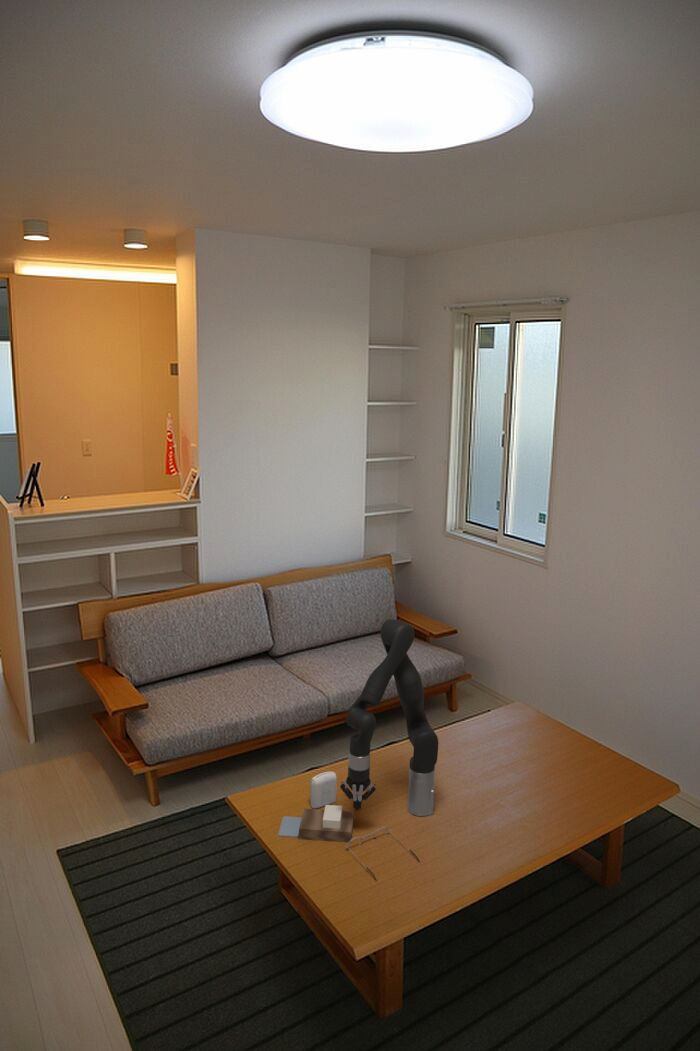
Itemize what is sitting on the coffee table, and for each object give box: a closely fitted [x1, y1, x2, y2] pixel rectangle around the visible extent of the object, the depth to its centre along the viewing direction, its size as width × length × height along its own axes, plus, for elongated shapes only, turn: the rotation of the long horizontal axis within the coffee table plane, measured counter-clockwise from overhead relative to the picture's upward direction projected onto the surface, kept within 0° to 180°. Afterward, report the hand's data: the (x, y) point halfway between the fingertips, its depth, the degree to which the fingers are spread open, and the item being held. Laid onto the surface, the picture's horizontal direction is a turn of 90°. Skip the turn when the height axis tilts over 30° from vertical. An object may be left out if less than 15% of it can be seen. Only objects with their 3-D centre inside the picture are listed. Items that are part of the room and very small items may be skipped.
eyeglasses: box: [345, 826, 421, 882], centre depth 253 cm, size 18×19×4 cm
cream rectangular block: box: [323, 804, 343, 829], centre depth 265 cm, size 6×9×3 cm, turn 176°
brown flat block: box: [298, 808, 355, 843], centre depth 266 cm, size 18×12×4 cm, turn 86°
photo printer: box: [309, 771, 338, 809], centre depth 281 cm, size 10×4×12 cm, turn 123°
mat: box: [277, 815, 302, 838], centre depth 268 cm, size 7×11×1 cm, turn 176°
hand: (357, 808), depth 264 cm, fingers closed
